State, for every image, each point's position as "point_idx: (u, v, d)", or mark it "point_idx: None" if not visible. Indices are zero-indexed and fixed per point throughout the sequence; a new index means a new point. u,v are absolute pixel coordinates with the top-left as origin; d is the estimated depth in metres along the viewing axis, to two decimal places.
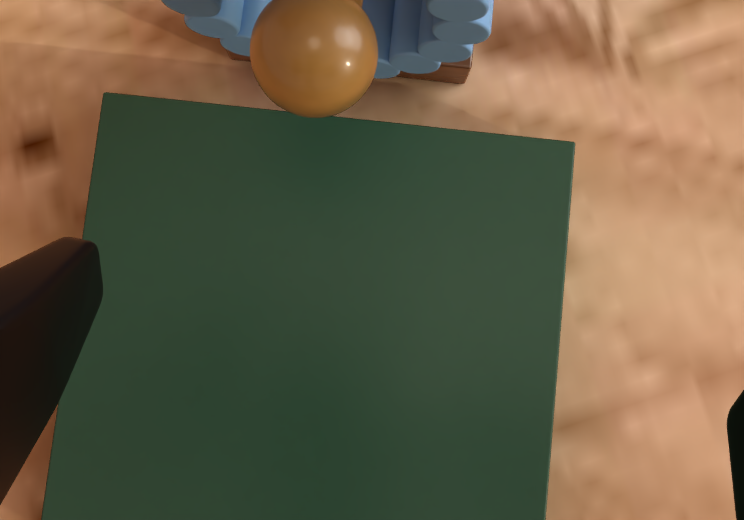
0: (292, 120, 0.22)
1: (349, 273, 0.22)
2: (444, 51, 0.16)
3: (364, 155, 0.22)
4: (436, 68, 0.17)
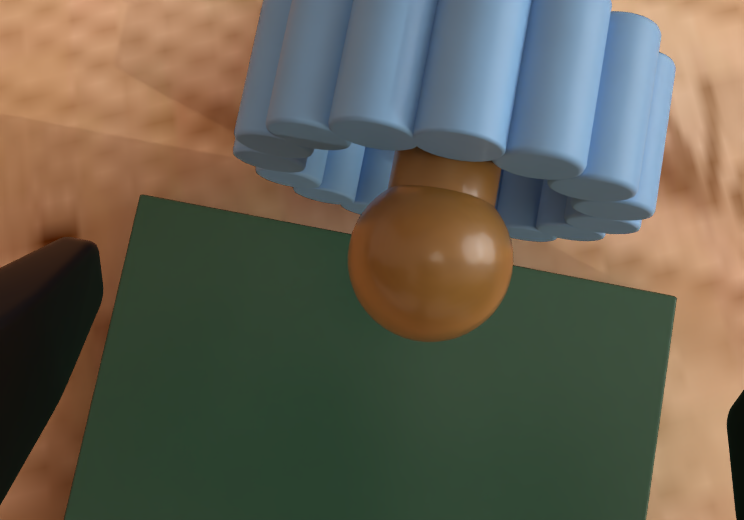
0: None
1: (405, 430, 0.19)
2: (570, 233, 0.13)
3: None
4: (550, 240, 0.14)
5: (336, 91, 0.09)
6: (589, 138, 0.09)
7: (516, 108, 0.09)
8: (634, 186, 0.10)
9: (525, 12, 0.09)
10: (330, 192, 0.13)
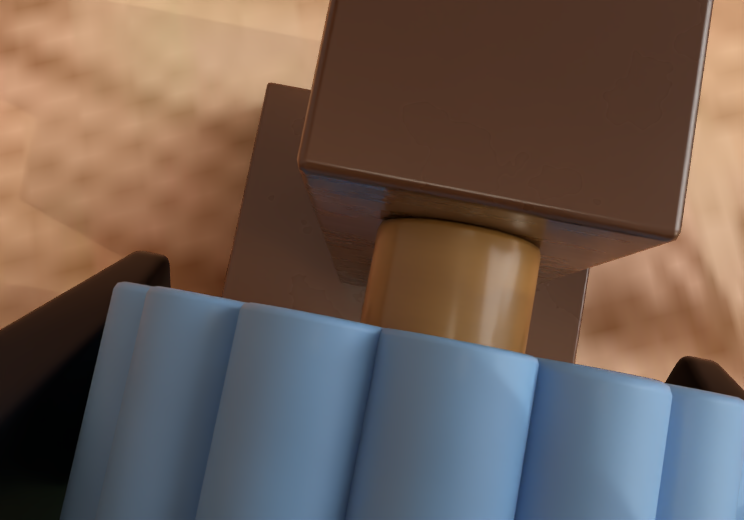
0: None
1: None
2: None
3: None
4: None
5: None
6: None
7: None
8: None
9: (521, 443, 0.05)
10: None
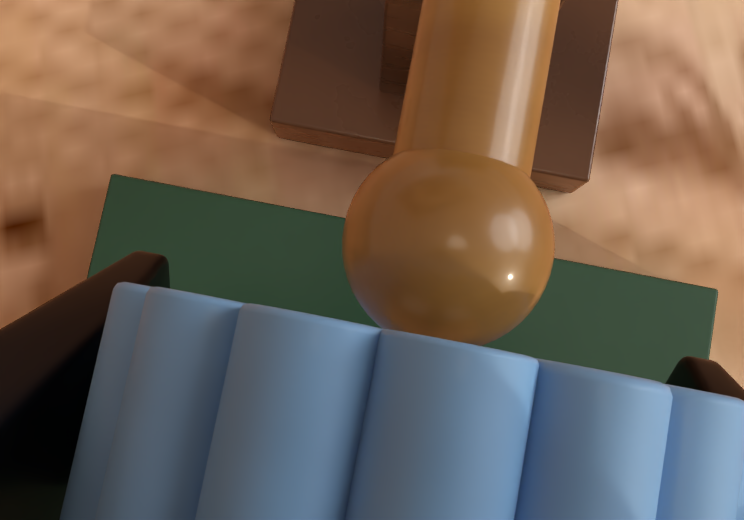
0: None
1: None
2: None
3: None
4: None
5: None
6: None
7: None
8: None
9: (521, 443, 0.05)
10: None
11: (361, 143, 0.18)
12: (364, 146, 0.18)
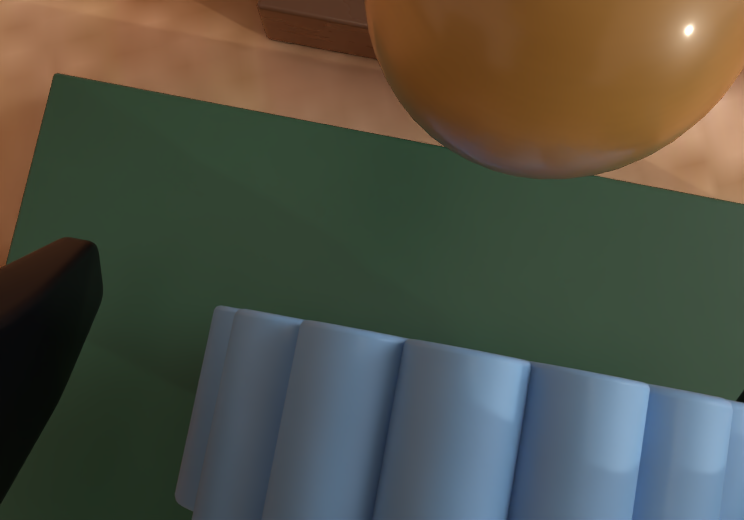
0: (362, 145, 0.13)
1: None
2: None
3: (478, 214, 0.13)
4: None
5: None
6: None
7: None
8: None
9: (641, 449, 0.06)
10: None
11: None
12: None
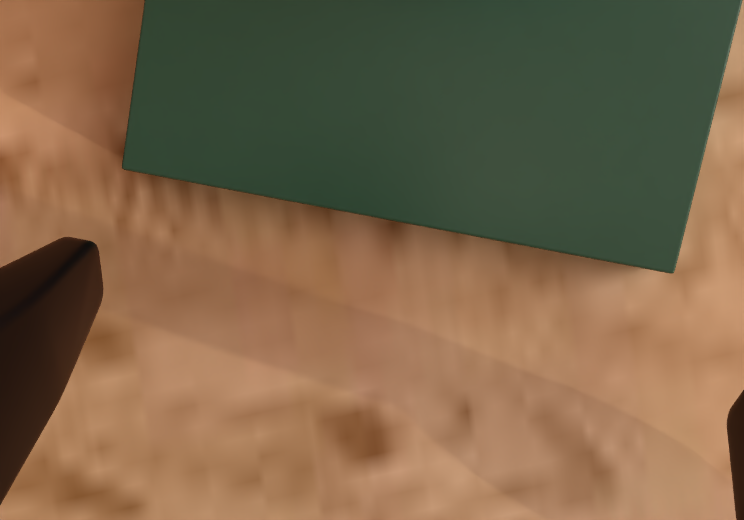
0: None
1: None
2: None
3: None
4: None
5: None
6: None
7: None
8: None
9: None
10: None
11: None
12: None
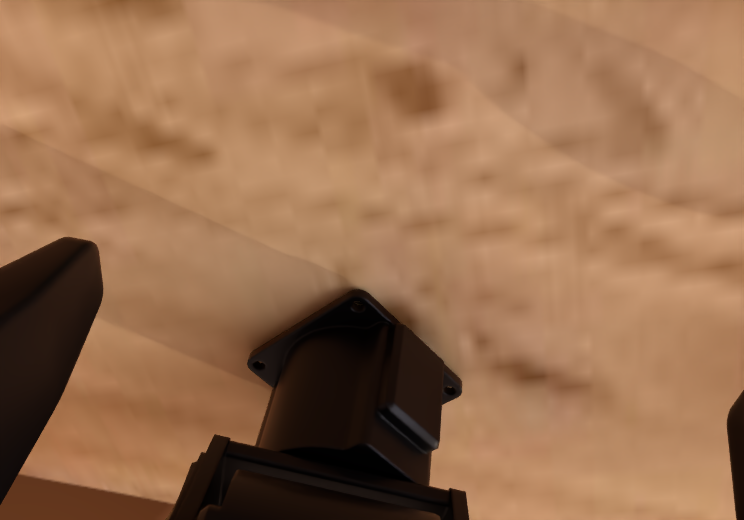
0: None
1: None
2: None
3: None
4: None
5: None
6: None
7: None
8: None
9: None
10: None
11: None
12: None
